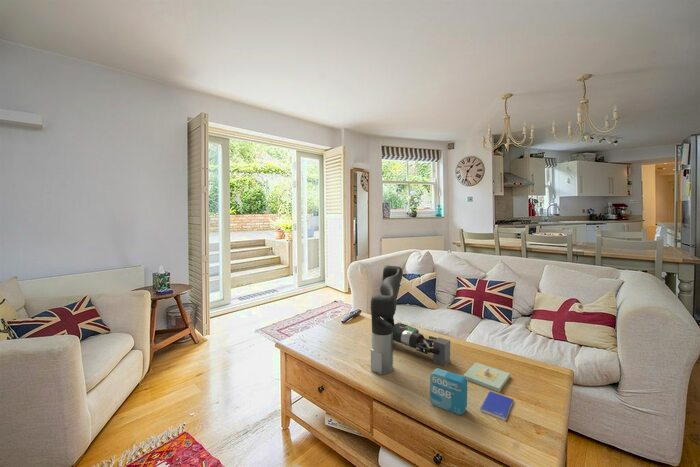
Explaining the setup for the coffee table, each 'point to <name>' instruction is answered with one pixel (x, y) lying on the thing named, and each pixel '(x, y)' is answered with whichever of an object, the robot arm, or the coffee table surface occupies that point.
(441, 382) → the data package
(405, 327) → the disk drive
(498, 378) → the pin board
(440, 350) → the block
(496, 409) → the hard drive
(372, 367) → the robot arm
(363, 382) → the coffee table surface
